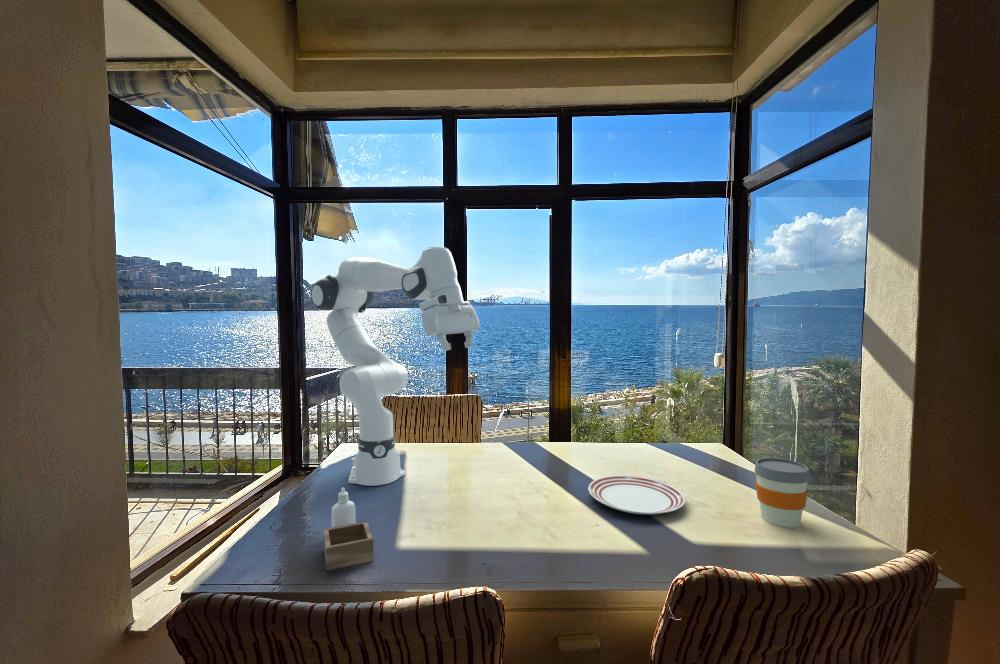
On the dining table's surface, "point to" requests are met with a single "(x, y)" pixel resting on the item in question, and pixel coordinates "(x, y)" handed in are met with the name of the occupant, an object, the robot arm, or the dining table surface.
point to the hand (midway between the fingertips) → (458, 348)
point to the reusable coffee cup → (781, 490)
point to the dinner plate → (636, 494)
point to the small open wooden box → (348, 545)
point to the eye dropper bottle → (343, 510)
